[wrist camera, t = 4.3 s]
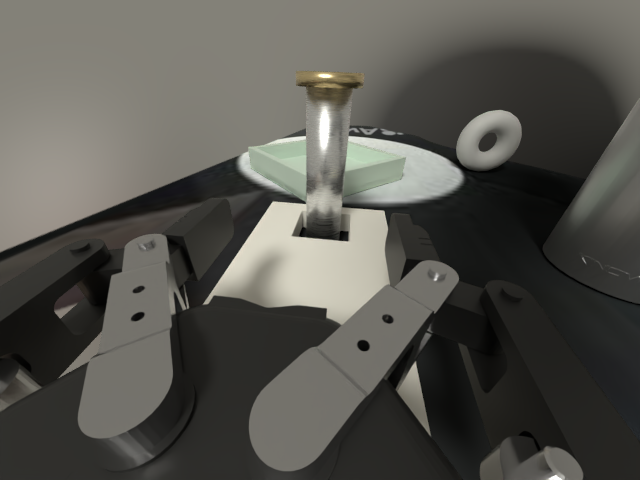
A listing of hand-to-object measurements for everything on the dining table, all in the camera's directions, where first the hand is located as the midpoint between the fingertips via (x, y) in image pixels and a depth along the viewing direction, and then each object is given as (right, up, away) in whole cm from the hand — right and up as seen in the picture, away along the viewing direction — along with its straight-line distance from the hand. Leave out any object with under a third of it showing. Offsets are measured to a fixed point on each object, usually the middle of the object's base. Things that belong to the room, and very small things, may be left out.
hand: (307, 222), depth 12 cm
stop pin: (+1, -1, +12) cm, 12 cm away
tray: (+1, +10, +29) cm, 31 cm away
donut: (+30, +12, +33) cm, 46 cm away
